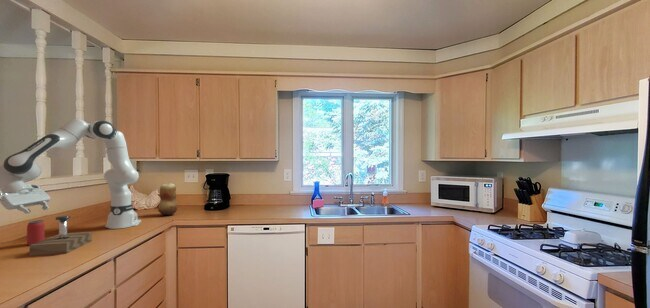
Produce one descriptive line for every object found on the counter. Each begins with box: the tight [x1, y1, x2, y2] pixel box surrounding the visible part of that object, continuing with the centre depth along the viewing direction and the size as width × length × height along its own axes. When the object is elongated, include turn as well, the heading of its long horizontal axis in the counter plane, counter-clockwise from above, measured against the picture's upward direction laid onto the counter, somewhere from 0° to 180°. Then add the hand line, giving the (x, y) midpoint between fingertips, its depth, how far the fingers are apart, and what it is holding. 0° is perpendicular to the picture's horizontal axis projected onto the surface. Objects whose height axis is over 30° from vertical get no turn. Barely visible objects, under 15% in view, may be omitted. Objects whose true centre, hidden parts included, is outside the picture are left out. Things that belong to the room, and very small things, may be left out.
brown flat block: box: [29, 231, 93, 257], centre depth 143 cm, size 20×15×5 cm
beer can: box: [26, 219, 46, 246], centre depth 150 cm, size 7×7×12 cm
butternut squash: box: [157, 182, 179, 216], centre depth 220 cm, size 14×13×25 cm
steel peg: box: [55, 215, 71, 239], centre depth 143 cm, size 6×6×16 cm
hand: (37, 210), depth 142 cm, fingers open, 8 cm apart
